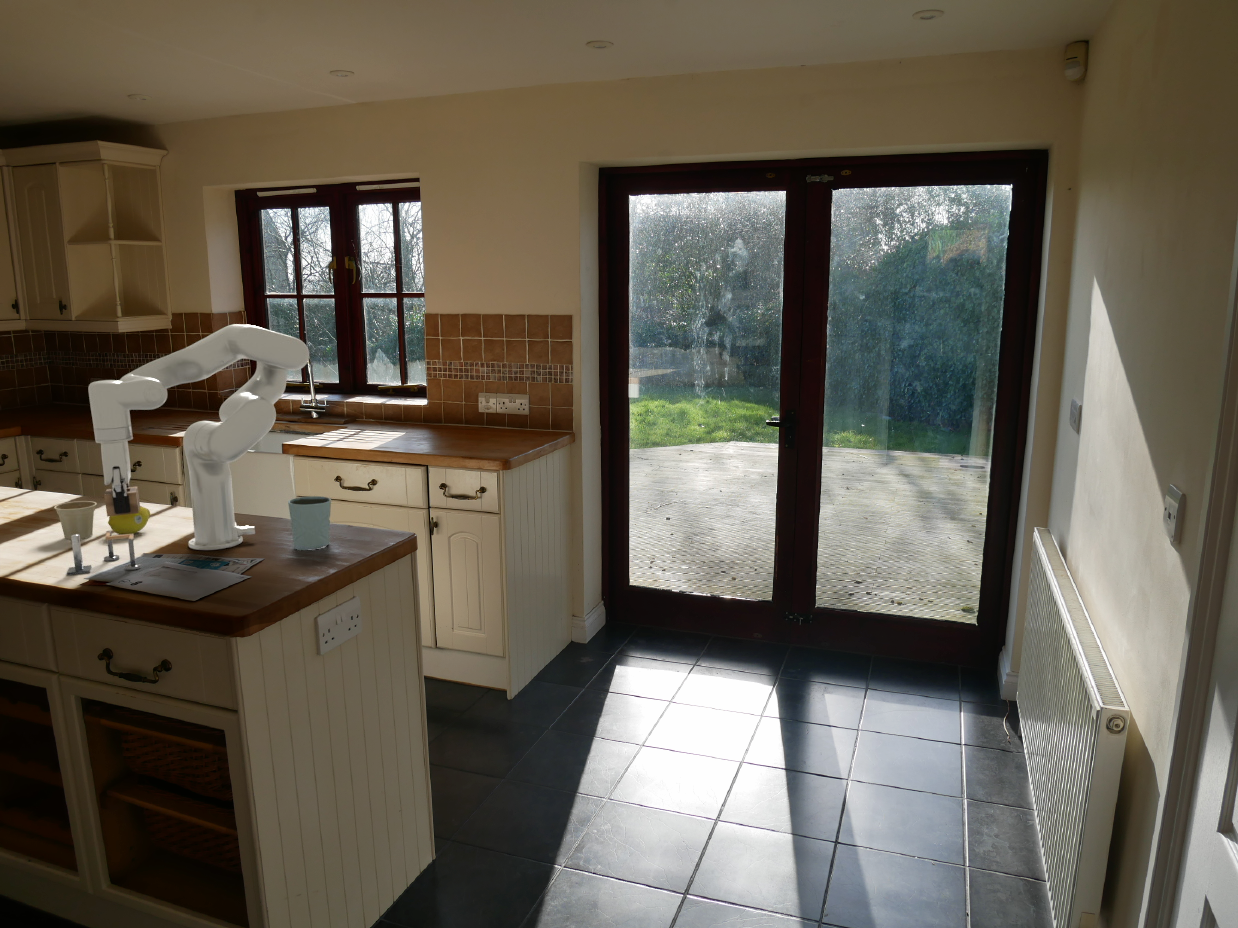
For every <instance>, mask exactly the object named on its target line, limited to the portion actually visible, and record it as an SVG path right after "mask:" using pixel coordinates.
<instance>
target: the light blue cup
mask: <svg viewBox="0 0 1238 928" xmlns="http://www.w3.org/2000/svg"><path fill="white" fill-rule="evenodd" d="M287 502H288V510H289V517H290V520H291V522H290V525H291V532H292V542H293V543H292V544H293V549H295V550H296V549H297V550H296V551H301V550H308V549H317V548H321V547H323V546H326V545H328V544H329V545H330V530H331V529H330V527H331V520H330V518H331V506H332V505H331V504H332V499H331V498H330V497H327V496H317V495H316V496H315V495H314V496H313V495H311V496H310V495H309V496H300V497H294V498H292V499H289V500H288V501H287Z"/></svg>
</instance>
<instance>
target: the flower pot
mask: <svg viewBox="0 0 1238 928" xmlns="http://www.w3.org/2000/svg"><path fill="white" fill-rule="evenodd" d="M97 504H98V503H97V502H96V501H88V500H79V501H77V500H76V501H69V502H65V503H64V502H63V503H59V504H57V505H55V506H53V507H54V508H53V509H55V511H56V513H57V515H58V518H59V522H60V525H61V529H62V531H63V533H62V534H63V536H64V539H65V540H68V539H69V540H68V541H72V538H71V535H75V534H79V535H80V540H84V539H89V538H91V537H92V536H93V529H94V516H95V511H96V506H97Z"/></svg>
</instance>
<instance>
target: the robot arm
mask: <svg viewBox="0 0 1238 928" xmlns="http://www.w3.org/2000/svg"><path fill="white" fill-rule="evenodd" d="M242 359H243V360H244V359H247V360H252V361H256V369H255V372H254V374H253V375H252V377H251V378H250V379H248V380H247V382H246V383H245V384H244V385H242V386H241V387H240V388H238V390H236V392H234V393H233V394H232V395H230V396H229V397H228V398H227V399H226V400H225V401H223V403H222V404H221V406H220V408H219V411H218V414H219V415H218V417H219V419H220V421H221V423H220V422H216V421H210V420H201V421H197V422H194V423H192V424H190V426H188V427H187V429H186V430H185V432H184V435H183V440H182V446H183V447H182V448H183V450H184V455H185V458H186V462H187V466H188V467H187V468H188V473H189V475H188V476H189V483H190V485H189V486H190V487H189V488H190V497H191V498H190V499H191V509H192V518H193V519H192V520H193V521H192V522H193V533H194V537H193V538H191V539H190V540H189V541H188V547H189V548H190V549H192V550H198V551H217V550H223V549H226V548H227V549H228V548H232V547H235V546H238V545H239V544H241V543H242V542H243V541H244V540H243V539H244V538H243V536H244V535H255V534H256V530H255V526H249V525H245V526H239V525H237V522H236V520H235V519H236V518H235V509H234V506H235V505H234V495H233V482H232V481H233V480H232V473H231V467H230V464H231V463H233V462H236V461H237V460H239V459H240V458H241V457H243V456H244V455H245V454H247V453H248V452H249V451H250V449H252V448H253V447H254V446H255V445H256V444H257V443H258V442H260V441H261V439H263V438H264V437H265V436H266V435H267V434H268V433H269V432H270V431H271V429H272V428H273V426H274V425H275V422H276V418H277V412H276V408H275V406H274V405H275V404H276V402H278V401H279V400H280V399H281V397H282V395H283V394H284V392H285V391H286V386H287V379H288V378H287V375H288V372H287V371H293V372H294V371H298V370H301V369H303V368H304V367H305V366H306V365H307V364H308V362H309V360H310V351H309V348H308V346H307V345H306V344H305V342H303V340H301V339H299V338H297V337H294V336H290V335H287V334H284V333H281V332H276V331H274V330H270V329H267V328H263V327H260V326H256V325H251V324H240V323H239V324H237V323H236V324H235V323H233V324H229V325H227V326H225V327H222V328H220V329H219V330H217V331H214V332H213V333H211V334H209V335H208V336H206V337H204V338H202V339H200V340H198V341H195V343H192V344H191V345H189V346H187V347H184V348H182V349H180V350H177V351H175V352H172V353H170V354H168V355H164V356H162V357H160V358H157V359H155V360H154V359H153V360H152V361H150V362H148V363H146V364H144V365H141V366H140V367H137V368H136V369H134V370H132V371H131V372H128V373H127V374H125V375H123V376H122V377H121V378H120V379H118V380H117V379H116V380H115V379H105V380H98V381H93V382H90V384H88V397H89V398H88V399H89V404H90V405H89V406H90V411H91V417H92V424H93V432H94V439H95V441H94V442H95V443H96V444H100V449H101V450H100V451H101V461H102V463H101V464H102V470H103V480H104V485H105V486H109V485H110V484H111V487H112V488H111V489H113V504H114V511H115V514H121V513H129V512H130V511H131V509H130V502H129V495H127V487H130V480H131V477H132V473H131V459H130V458H131V457H130V452H129V451H130V450H129V442H128V441H131V440H133V439H134V437H133V429H132V422H131V420H132V419H131V414H130V411H131V410H133V411H134V410H136V411H138V410H144V411H145V410H148V411H149V410H155V409H158V408H159V407H161V406H163V405H164V404H165V402H166V401H167V399H168V390H167V389H170V388H171V387H175V386H178V385H182V384H188V383H194V382H199V381H203V380H205V379H207V378H209V377H212V375H214V374H216V373H219V372H220V371H221V370H224V369H225V368H227V367H229V366H231V365H232V364H234V363H236V362H238V361H239V360H242ZM242 535H243V536H242Z"/></svg>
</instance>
